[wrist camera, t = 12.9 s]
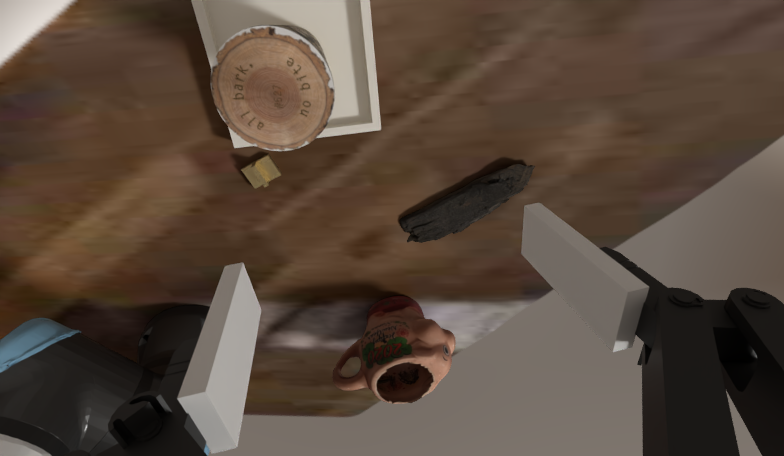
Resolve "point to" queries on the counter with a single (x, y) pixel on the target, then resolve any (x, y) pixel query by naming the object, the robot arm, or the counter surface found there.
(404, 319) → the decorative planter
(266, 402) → the counter surface
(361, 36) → the ceramic dish
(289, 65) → the paper tube
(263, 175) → the tan short block
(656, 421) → the robot arm
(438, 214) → the wood
